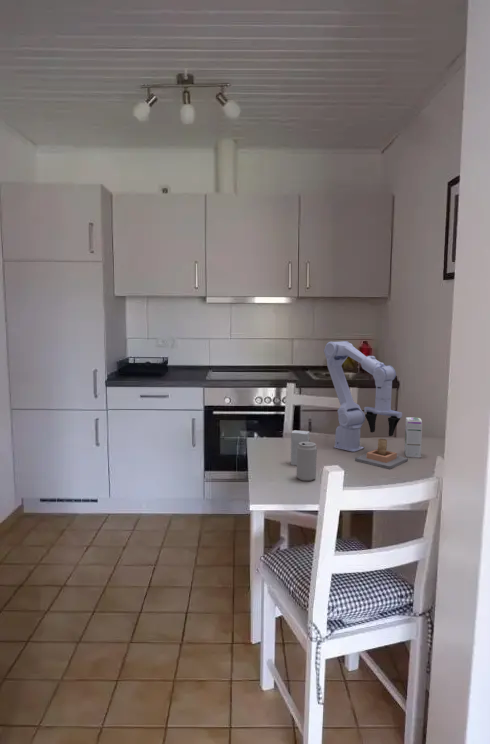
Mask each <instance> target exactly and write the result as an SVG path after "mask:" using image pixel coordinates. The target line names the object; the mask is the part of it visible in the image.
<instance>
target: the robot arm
mask: <svg viewBox="0 0 490 744" xmlns="http://www.w3.org/2000/svg"><path fill="white" fill-rule="evenodd" d="M323 353H324V356H325V359H326V365H327V370H328V374H329V375H330V378H331V381H332V384H333V387H334V390H335V394H336V396H337V399H338V402H339V405H340V406H339V408H338V409H337V410H336V411H337V415H338V418H337V419H338V422H339V425H338V426H337V427H336V429H335V434H334V435H335V439H334V440H335V441H334V446H333V449H334V448H335V449H339V450H343V451H348V452H352V453H355V452H358V451H360V450H363V449H365V447H364V446H361V428H362V426H363V425H364V423H365V421H366V420H367V422H368V423H367V424H368V427H369V432H370V433H375V431H376V421H377V416H378V415H380V416H381V415H382V416H385V417H387V420H388V421H387V423H388V436H389V437H393V436H394V433H395V430H396V427H397V425H398V423H399V422H400V420H401V418H403V412H401V411H397V410H395V409H394V410H393V409H391V408H392V392H393V391H392V390H393V381H394V380H395V378H396V377H397V373H396V370H395V368H394V367H393V366H392V365H385V363H384V362H381V361H380V360H377V359H376V356H374V355H367V356H366V355H365V354H364V353H362V352H361V351H360V350H358V348H356V347H354V345H353V343H350V342H349V341H348V340H343V341H328V342H327V343H326V344H325V347H324V349H323ZM348 357H349V358H350V359H352V360H354V361H355V362H358V363H359V364H360V365H361V368H362V370H364V371H366V372H367V373H369V374H370V375H372V376H373V379H374V385H375V401H374V407H372V406H364V408H363V409H364V411H363V410H362V409H361V406H360V404H358V403H356V402H355V401H354V397H353V395H352V393H351V390H350V387H349V383H348V381H347V379H346V375H345V373H344V372H345V371H344V369H343V367H342V366H343V363H345V361H346V360H347V359H348Z"/></svg>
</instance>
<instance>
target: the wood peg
mask: <svg viewBox="0 0 490 744" xmlns="http://www.w3.org/2000/svg"><path fill="white" fill-rule="evenodd" d="M387 448H388V439H385V438H378V439H377V449H378V450H377V454H378V455H382V456H386V451H387Z"/></svg>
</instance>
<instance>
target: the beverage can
mask: <svg viewBox="0 0 490 744" xmlns="http://www.w3.org/2000/svg"><path fill="white" fill-rule="evenodd" d="M316 445H317V443H315V442H313V441H309V442H300V443H299V445H298V447H297V465H296V478H298V480H300V481H302V482H310V481H313V480H314V479H316V477H317V458H318V457H317V452H318V451H317V450H318V447H317V446H316Z"/></svg>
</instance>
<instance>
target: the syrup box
mask: <svg viewBox="0 0 490 744" xmlns="http://www.w3.org/2000/svg"><path fill="white" fill-rule="evenodd" d="M404 425H405V429H404V430H405V431H404V452H403V453H404V455H405V458H417V459H418V458H419V459H421V458H422V457H421V456H422V442H423V441H422V439H423V420H422V418H421V417H411V416H409V417H405V424H404Z"/></svg>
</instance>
